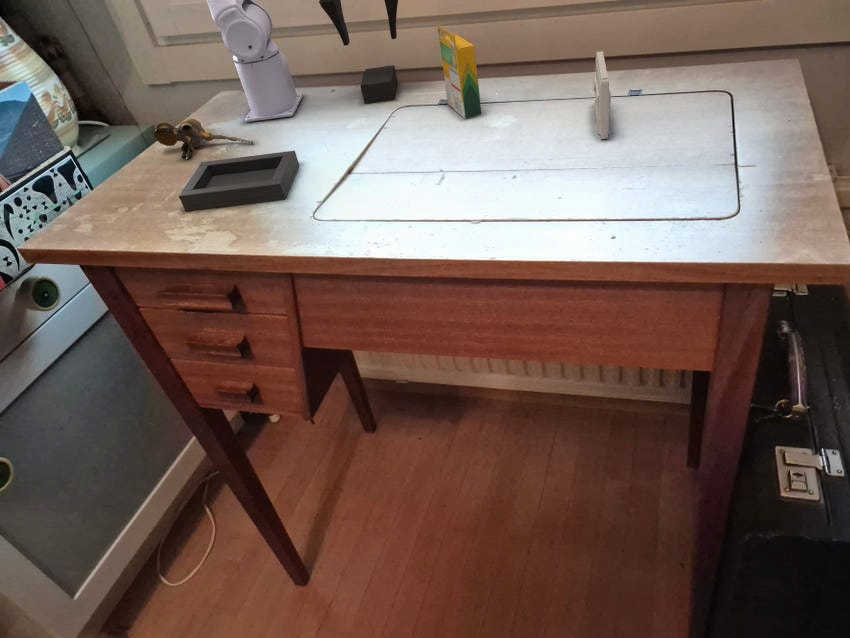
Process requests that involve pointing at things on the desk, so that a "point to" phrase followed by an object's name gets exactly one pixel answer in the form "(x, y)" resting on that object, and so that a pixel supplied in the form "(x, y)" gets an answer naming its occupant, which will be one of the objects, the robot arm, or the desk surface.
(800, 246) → the desk surface
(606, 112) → the cassette
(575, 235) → the desk surface
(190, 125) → the regulator
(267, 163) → the dark grey rectangular tray
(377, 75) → the dark grey block
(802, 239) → the desk surface
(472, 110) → the crayon box
